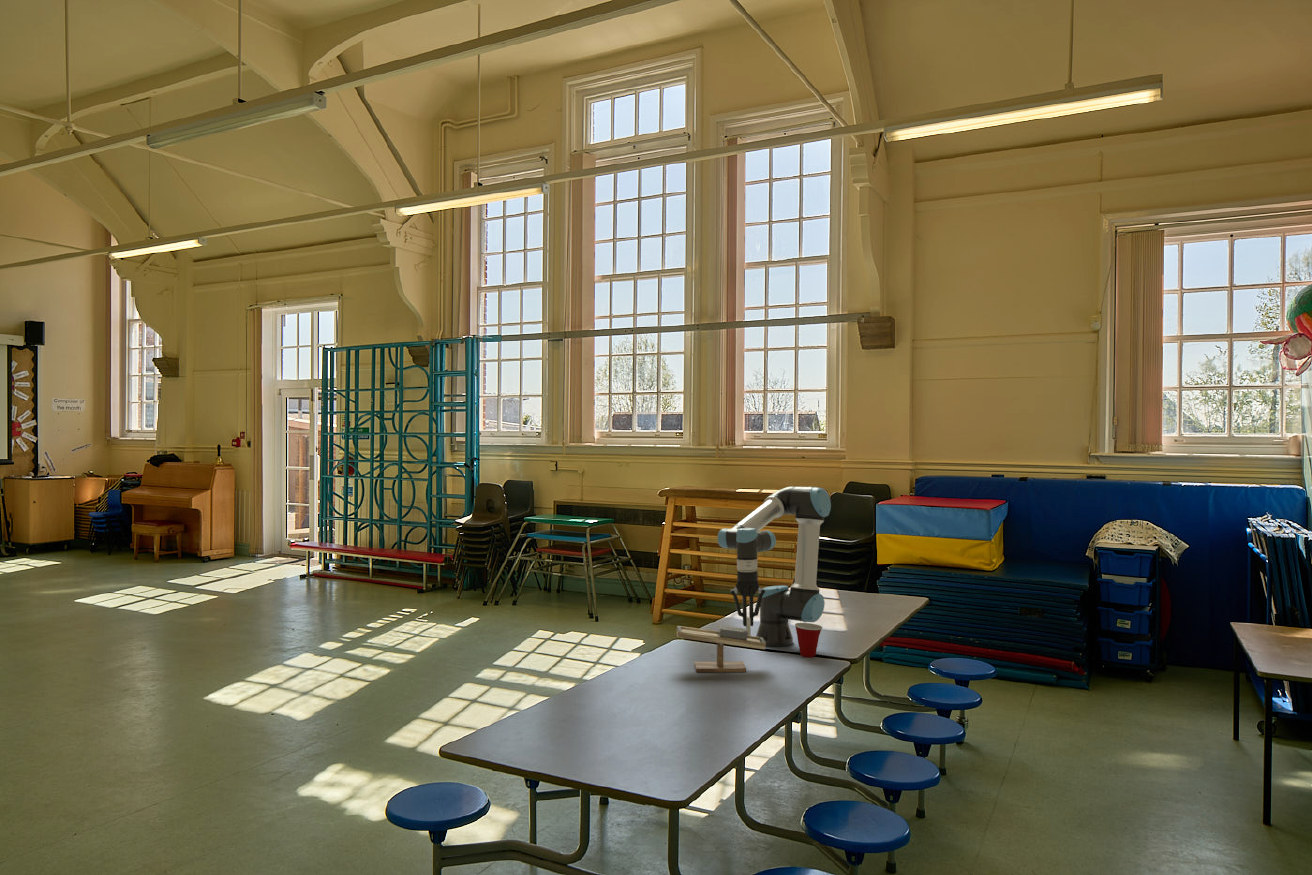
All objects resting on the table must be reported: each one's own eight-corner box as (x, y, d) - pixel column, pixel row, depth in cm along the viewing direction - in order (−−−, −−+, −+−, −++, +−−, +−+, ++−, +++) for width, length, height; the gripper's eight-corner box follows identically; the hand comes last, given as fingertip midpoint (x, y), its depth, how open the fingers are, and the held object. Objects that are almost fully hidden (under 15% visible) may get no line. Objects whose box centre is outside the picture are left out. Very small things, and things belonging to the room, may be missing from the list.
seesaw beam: (676, 633, 326) (677, 625, 326) (761, 645, 327) (762, 636, 327) (677, 639, 316) (678, 630, 316) (764, 651, 317) (766, 643, 317)
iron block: (717, 634, 325) (718, 624, 325) (743, 637, 325) (745, 628, 325) (719, 638, 318) (720, 629, 318) (746, 642, 318) (747, 632, 318)
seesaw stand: (694, 664, 326) (694, 640, 326) (742, 664, 327) (742, 640, 327) (696, 672, 316) (696, 647, 316) (746, 671, 317) (746, 647, 317)
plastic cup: (825, 659, 334) (824, 627, 334) (796, 659, 335) (796, 627, 335) (820, 652, 345) (820, 621, 345) (792, 652, 346) (792, 621, 346)
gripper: (730, 572, 318) (732, 637, 318) (766, 571, 318) (767, 636, 318) (728, 569, 325) (729, 633, 325) (763, 568, 325) (764, 632, 325)
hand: (748, 634), depth 321 cm, fingers closed
